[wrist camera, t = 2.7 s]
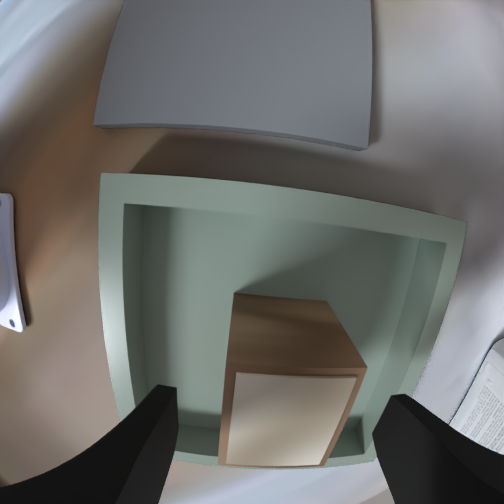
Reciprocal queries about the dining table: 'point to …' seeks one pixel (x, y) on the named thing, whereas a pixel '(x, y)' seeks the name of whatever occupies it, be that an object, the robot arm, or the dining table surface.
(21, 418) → the dining table surface
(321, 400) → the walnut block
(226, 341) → the bin
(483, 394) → the white rounded block
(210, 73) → the slate mat
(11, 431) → the dining table surface
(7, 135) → the dining table surface
